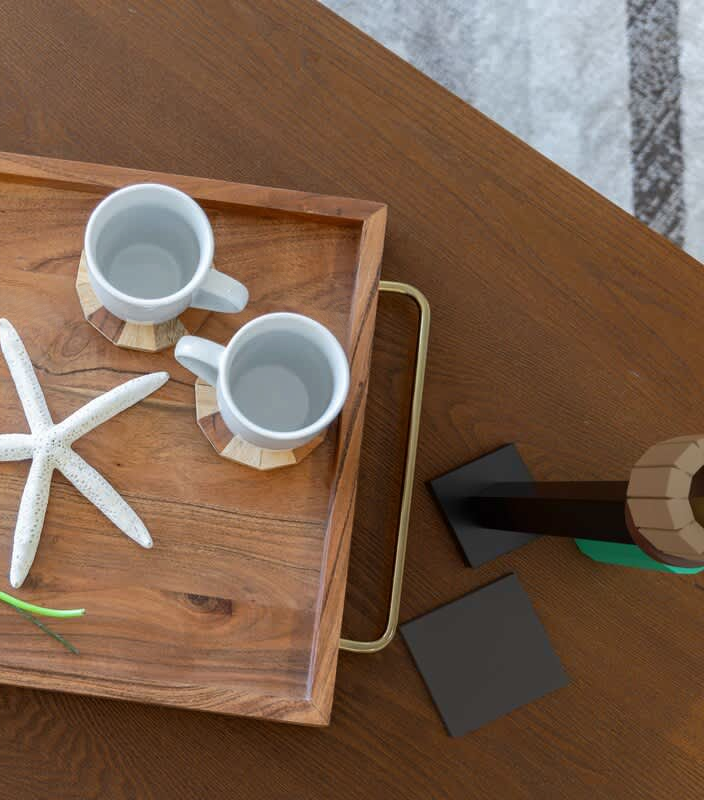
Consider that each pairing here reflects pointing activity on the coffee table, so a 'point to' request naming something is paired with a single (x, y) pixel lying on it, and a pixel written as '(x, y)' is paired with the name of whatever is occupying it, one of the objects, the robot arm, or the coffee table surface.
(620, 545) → the candle
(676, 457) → the tan segmented ring
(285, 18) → the coffee table surface
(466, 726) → the mat
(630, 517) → the stand
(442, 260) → the coffee table surface
